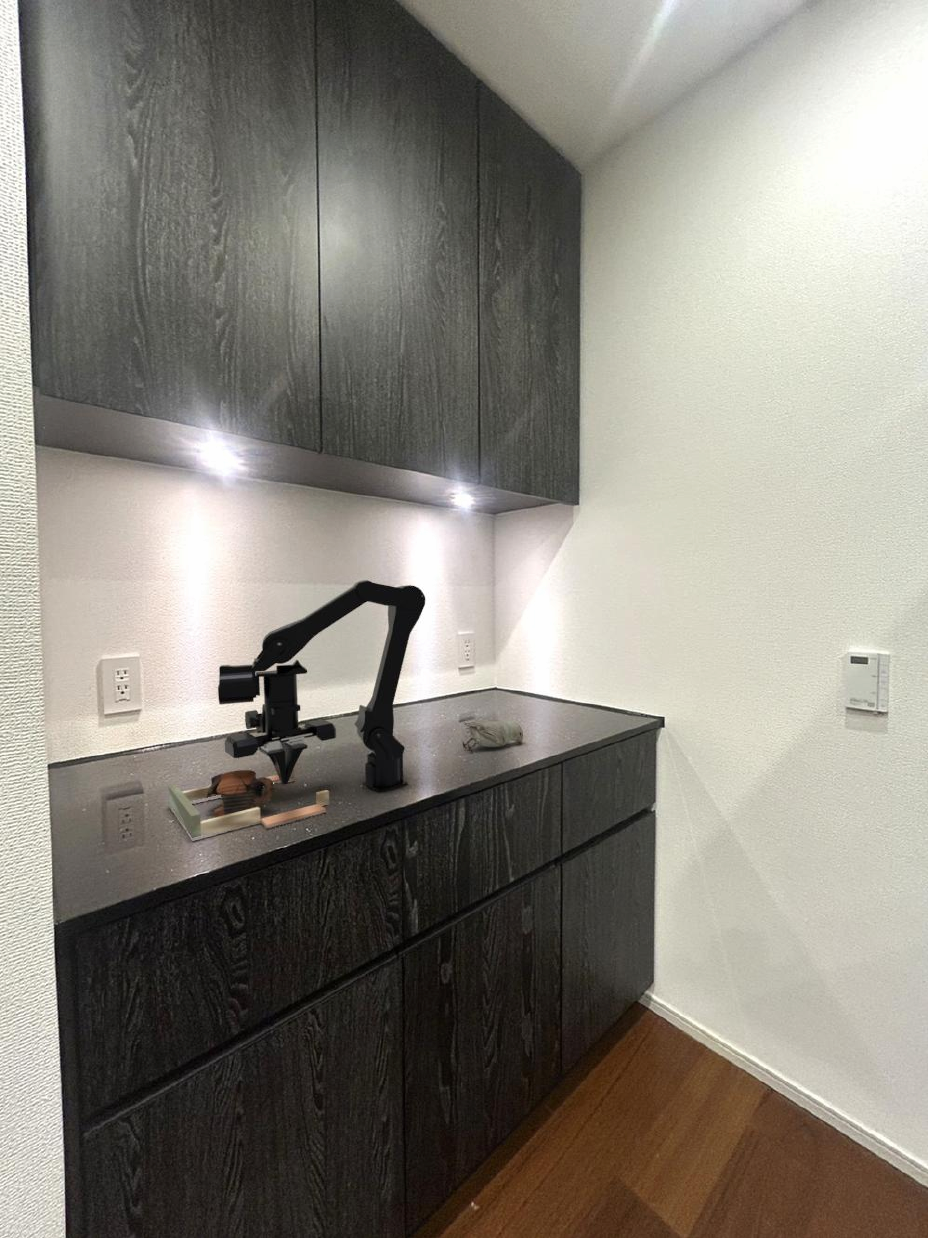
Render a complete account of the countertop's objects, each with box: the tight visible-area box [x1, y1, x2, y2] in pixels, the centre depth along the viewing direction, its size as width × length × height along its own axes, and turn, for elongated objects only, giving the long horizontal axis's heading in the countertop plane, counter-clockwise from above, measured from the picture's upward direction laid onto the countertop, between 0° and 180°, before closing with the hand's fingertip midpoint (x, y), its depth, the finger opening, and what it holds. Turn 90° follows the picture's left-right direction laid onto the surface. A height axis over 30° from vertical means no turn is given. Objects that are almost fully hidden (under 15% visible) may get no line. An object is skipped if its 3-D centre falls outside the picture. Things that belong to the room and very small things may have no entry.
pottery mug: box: [207, 769, 275, 818], centre depth 94 cm, size 12×10×8 cm
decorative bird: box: [462, 720, 524, 754], centre depth 131 cm, size 5×16×7 cm, turn 117°
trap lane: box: [168, 768, 330, 838], centre depth 96 cm, size 22×23×4 cm
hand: (284, 783), depth 100 cm, fingers closed
